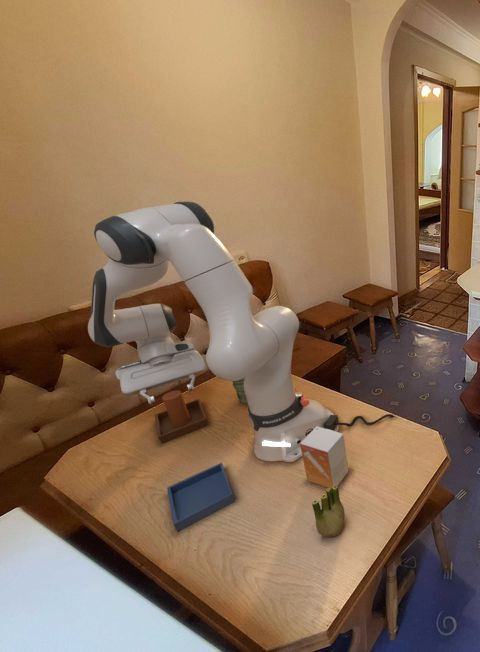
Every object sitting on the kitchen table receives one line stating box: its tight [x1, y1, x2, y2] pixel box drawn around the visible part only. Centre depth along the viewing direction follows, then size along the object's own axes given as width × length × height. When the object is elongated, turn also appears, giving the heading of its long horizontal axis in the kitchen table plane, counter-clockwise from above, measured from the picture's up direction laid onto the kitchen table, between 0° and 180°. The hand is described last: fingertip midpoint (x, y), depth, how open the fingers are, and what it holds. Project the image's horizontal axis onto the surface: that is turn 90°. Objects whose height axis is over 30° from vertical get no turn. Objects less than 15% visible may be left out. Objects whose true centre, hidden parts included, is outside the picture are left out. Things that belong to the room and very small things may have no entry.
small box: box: [300, 426, 350, 489], centre depth 89 cm, size 8×6×13 cm
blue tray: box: [166, 461, 236, 533], centre depth 85 cm, size 11×12×2 cm
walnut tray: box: [154, 398, 209, 445], centre depth 107 cm, size 11×12×2 cm
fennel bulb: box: [311, 484, 346, 538], centre depth 77 cm, size 6×5×12 cm
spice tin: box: [161, 389, 191, 427], centre depth 105 cm, size 4×4×10 cm
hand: (172, 396), depth 107 cm, fingers open, 8 cm apart
